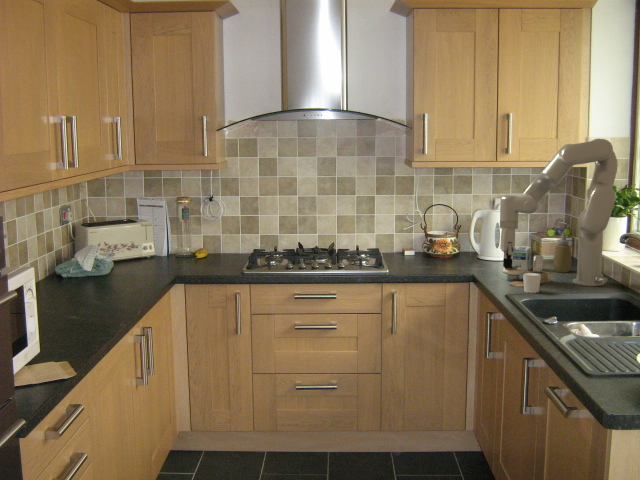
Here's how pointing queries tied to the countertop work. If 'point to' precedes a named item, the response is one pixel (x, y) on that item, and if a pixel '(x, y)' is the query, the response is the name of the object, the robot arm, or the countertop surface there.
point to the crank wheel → (514, 270)
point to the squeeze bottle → (562, 255)
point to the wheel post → (513, 277)
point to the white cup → (531, 282)
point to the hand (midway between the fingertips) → (507, 267)
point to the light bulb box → (522, 257)
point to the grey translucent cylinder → (537, 264)
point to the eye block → (543, 276)
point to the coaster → (517, 284)
